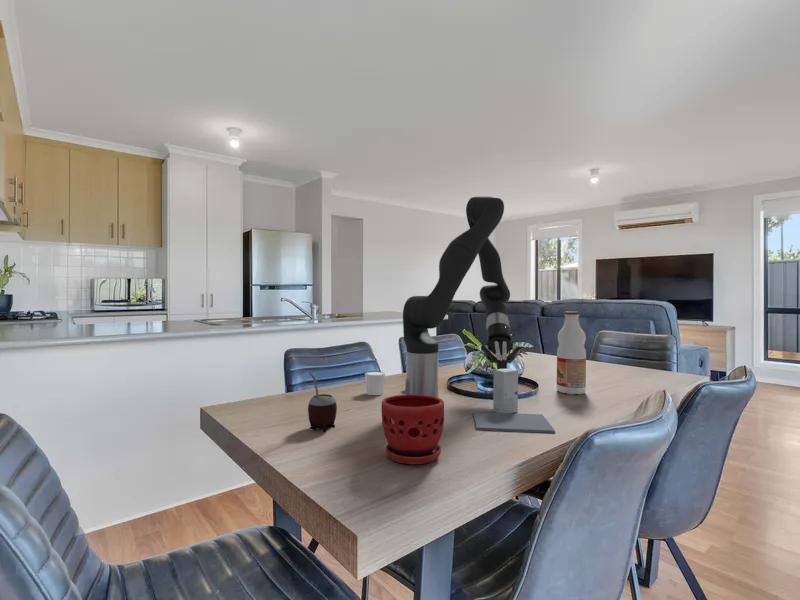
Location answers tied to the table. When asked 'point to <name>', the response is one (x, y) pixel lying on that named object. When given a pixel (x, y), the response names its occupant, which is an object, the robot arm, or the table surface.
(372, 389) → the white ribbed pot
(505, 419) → the slate mat
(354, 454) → the table surface
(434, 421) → the plant pot
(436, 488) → the table surface
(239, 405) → the table surface
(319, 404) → the mate gourd
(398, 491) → the table surface
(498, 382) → the skincare box
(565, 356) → the fruit juice
